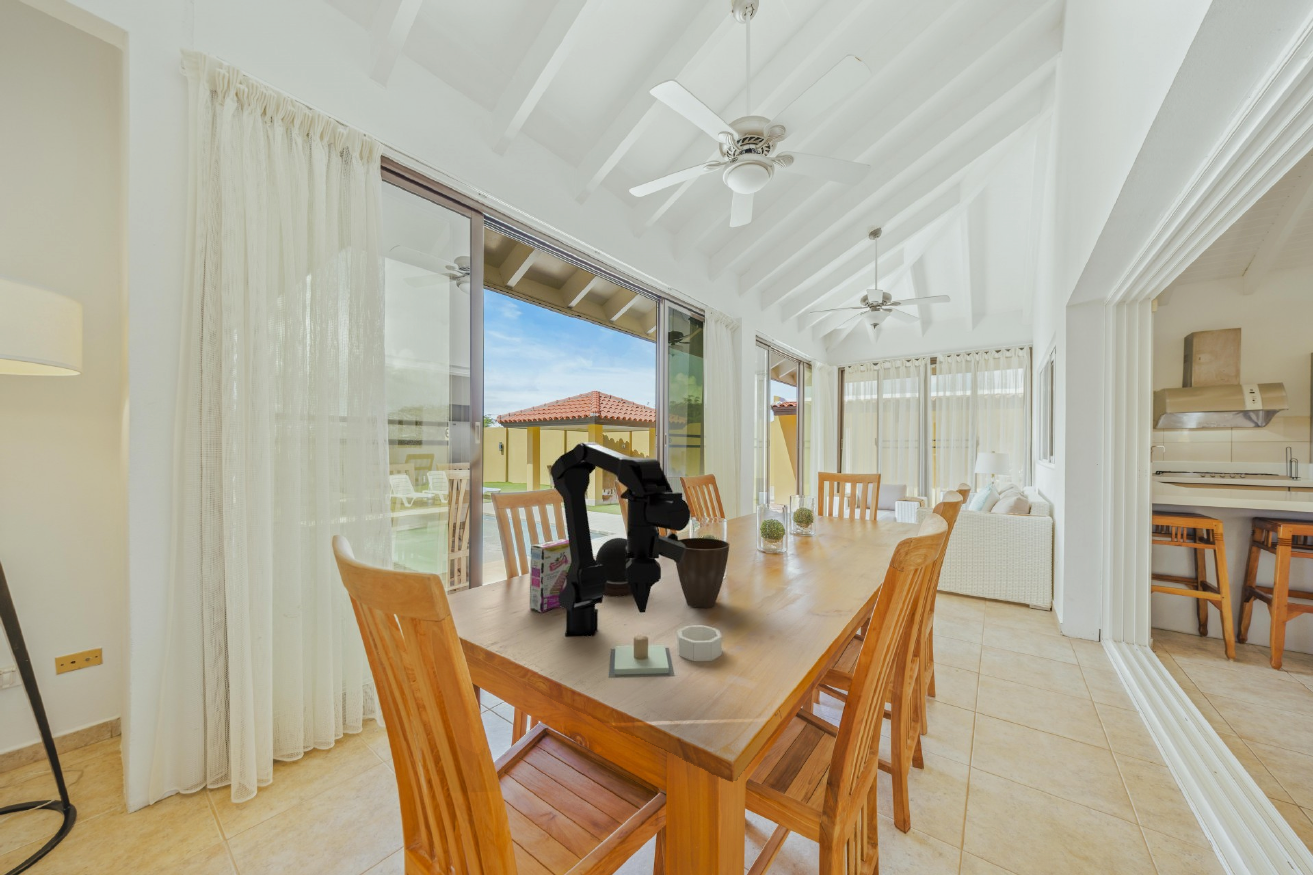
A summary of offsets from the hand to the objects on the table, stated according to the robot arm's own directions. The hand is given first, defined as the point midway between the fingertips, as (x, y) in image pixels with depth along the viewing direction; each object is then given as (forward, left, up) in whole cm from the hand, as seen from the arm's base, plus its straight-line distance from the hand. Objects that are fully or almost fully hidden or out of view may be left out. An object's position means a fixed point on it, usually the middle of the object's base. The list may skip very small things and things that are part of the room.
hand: (641, 603), depth 95 cm
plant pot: (+17, +34, -12) cm, 40 cm away
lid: (0, 0, -11) cm, 11 cm away
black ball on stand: (-5, +46, -12) cm, 48 cm away
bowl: (+12, +4, -12) cm, 17 cm away
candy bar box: (-22, +34, -12) cm, 42 cm away
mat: (0, 0, -12) cm, 12 cm away
